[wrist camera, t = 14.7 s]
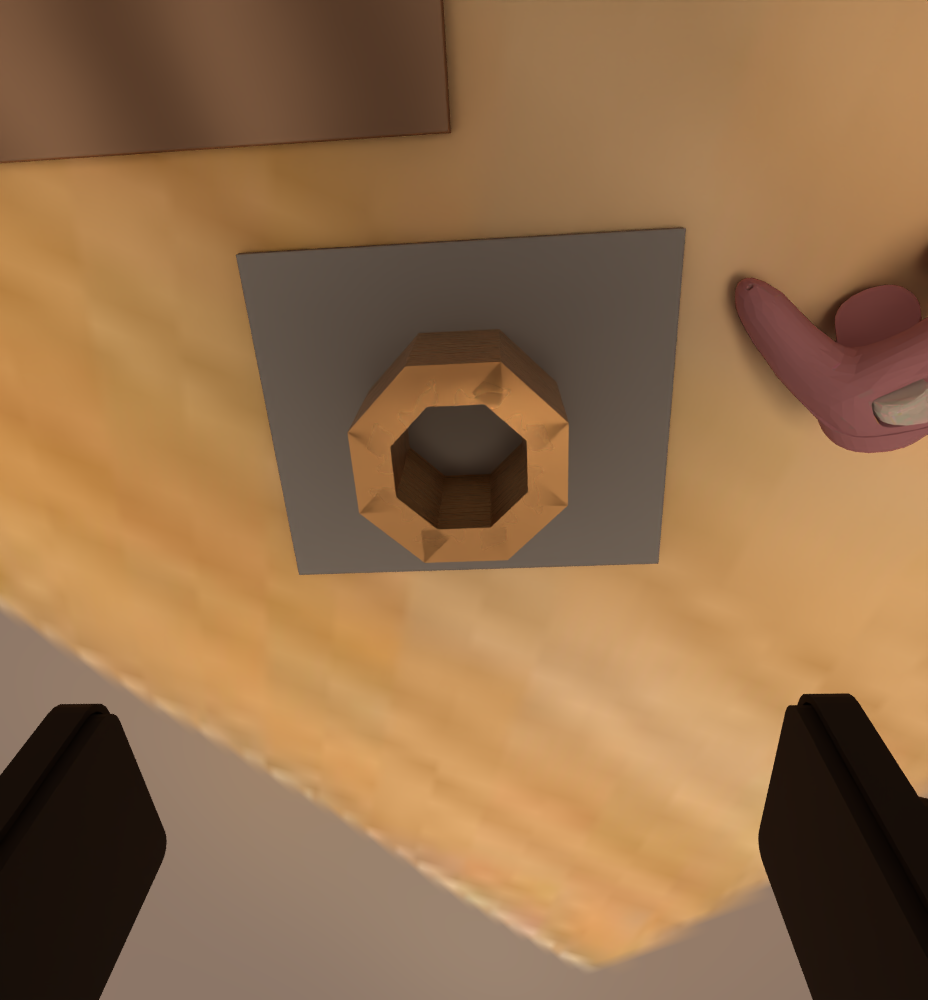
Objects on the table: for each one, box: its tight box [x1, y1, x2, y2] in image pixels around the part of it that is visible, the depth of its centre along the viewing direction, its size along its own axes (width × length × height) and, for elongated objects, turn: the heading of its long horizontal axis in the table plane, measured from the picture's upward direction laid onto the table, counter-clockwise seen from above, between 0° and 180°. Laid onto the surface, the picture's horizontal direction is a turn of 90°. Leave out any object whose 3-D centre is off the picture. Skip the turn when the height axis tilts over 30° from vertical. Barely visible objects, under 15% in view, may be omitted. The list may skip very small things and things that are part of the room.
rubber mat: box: [236, 227, 686, 575], centre depth 24 cm, size 14×12×1 cm
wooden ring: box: [348, 329, 569, 563], centre depth 22 cm, size 6×6×4 cm
